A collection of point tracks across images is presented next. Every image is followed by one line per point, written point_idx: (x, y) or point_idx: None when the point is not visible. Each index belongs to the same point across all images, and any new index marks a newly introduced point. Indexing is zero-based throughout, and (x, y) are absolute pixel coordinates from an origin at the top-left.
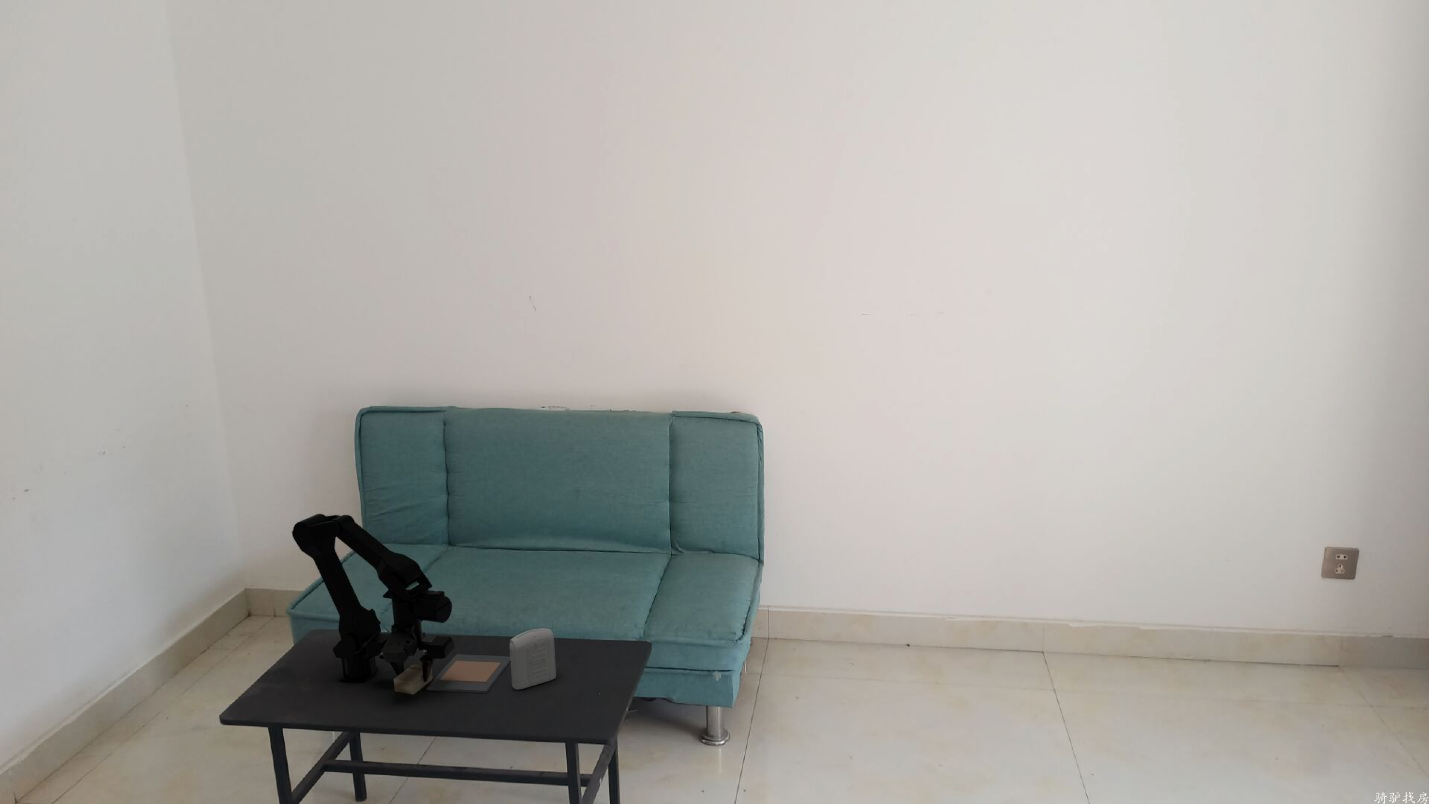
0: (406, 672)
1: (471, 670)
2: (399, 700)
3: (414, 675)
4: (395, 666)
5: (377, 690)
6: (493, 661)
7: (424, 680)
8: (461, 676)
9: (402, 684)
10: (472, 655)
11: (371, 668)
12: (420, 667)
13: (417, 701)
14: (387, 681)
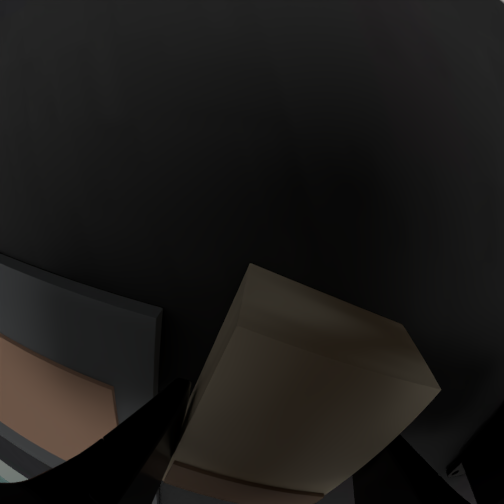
0: (334, 464)
1: (27, 409)
2: (352, 178)
3: (252, 431)
4: (432, 498)
5: (487, 337)
6: (13, 431)
7: (180, 387)
8: (29, 379)
9: (358, 341)
10: None
11: (495, 459)
12: (234, 493)
13: (185, 139)
14: (432, 415)
